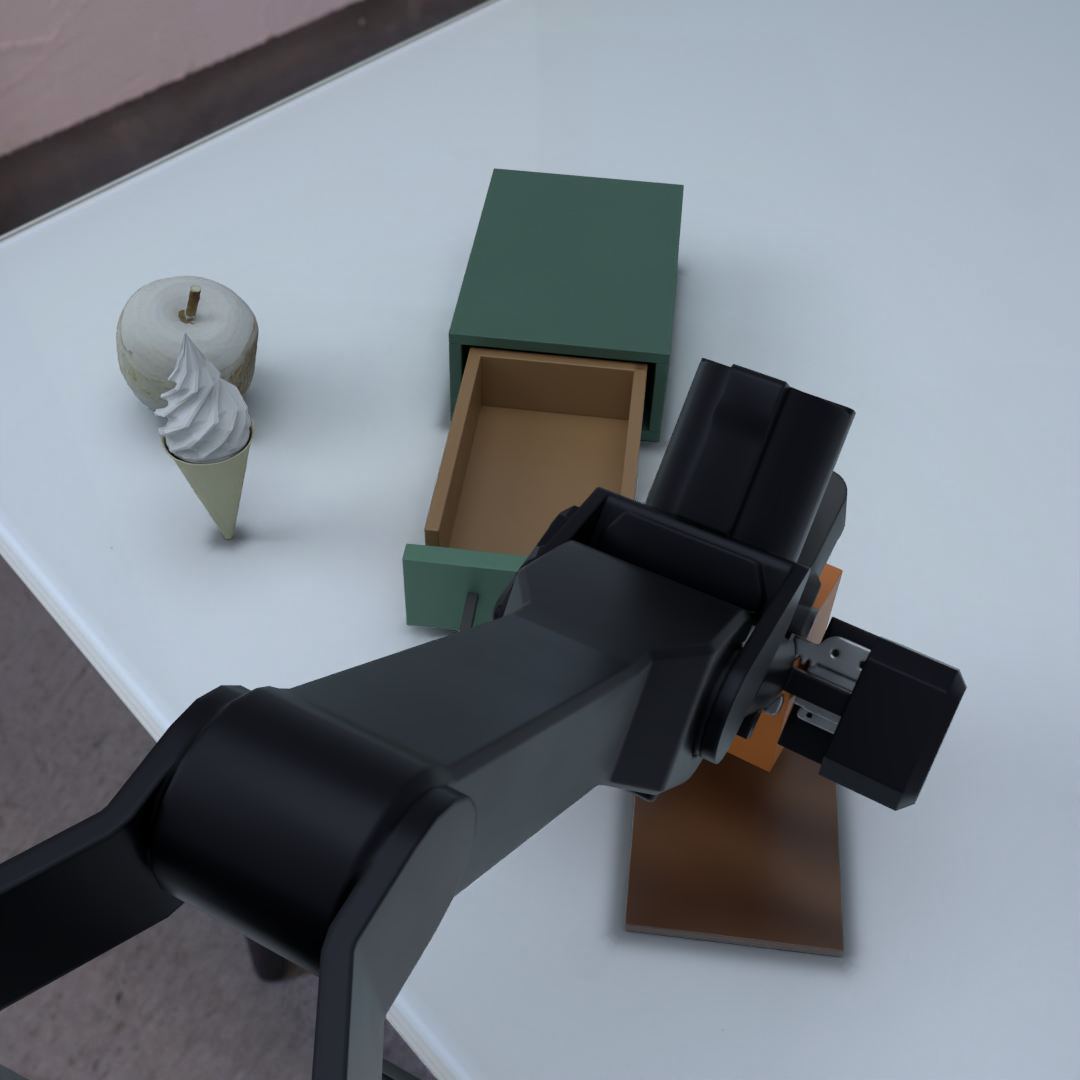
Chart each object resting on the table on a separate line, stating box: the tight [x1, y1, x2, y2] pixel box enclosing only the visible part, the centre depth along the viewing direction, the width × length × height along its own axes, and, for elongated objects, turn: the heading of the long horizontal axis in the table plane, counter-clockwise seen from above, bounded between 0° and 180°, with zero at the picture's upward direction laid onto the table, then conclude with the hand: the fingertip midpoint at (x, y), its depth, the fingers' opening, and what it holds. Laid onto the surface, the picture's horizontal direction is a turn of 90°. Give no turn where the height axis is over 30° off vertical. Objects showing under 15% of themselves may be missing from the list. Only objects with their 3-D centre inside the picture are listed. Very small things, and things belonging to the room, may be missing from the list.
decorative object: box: [115, 275, 259, 419], centre depth 82 cm, size 9×9×10 cm
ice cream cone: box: [154, 333, 256, 540], centre depth 72 cm, size 5×5×15 cm
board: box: [623, 747, 845, 958], centre depth 65 cm, size 14×10×1 cm
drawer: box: [401, 347, 648, 633], centre depth 74 cm, size 23×12×5 cm, turn 173°
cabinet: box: [447, 167, 685, 443], centre depth 89 cm, size 20×14×7 cm
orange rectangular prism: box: [727, 562, 844, 772], centre depth 62 cm, size 4×5×11 cm
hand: (765, 647), depth 64 cm, fingers closed on orange rectangular prism, 5 cm apart
